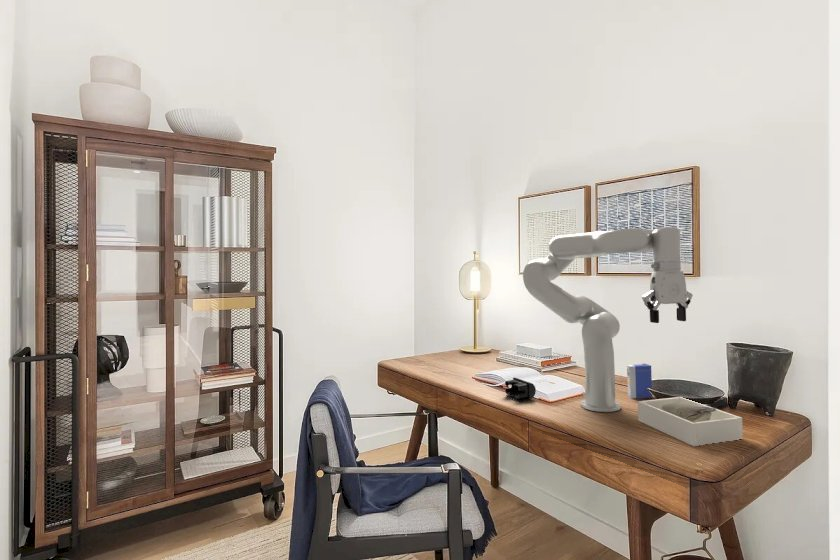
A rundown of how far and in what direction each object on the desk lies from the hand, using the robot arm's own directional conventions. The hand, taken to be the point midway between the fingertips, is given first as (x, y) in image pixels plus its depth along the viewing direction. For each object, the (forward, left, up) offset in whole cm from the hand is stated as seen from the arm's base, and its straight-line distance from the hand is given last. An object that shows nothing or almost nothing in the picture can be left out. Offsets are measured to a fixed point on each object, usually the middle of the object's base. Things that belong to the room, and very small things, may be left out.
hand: (668, 321), depth 142 cm
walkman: (-22, +6, -31) cm, 38 cm away
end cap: (-35, -35, -31) cm, 58 cm away
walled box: (+10, -3, -30) cm, 32 cm away
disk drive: (-8, +19, -31) cm, 37 cm away
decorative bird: (+11, -4, -29) cm, 32 cm away
